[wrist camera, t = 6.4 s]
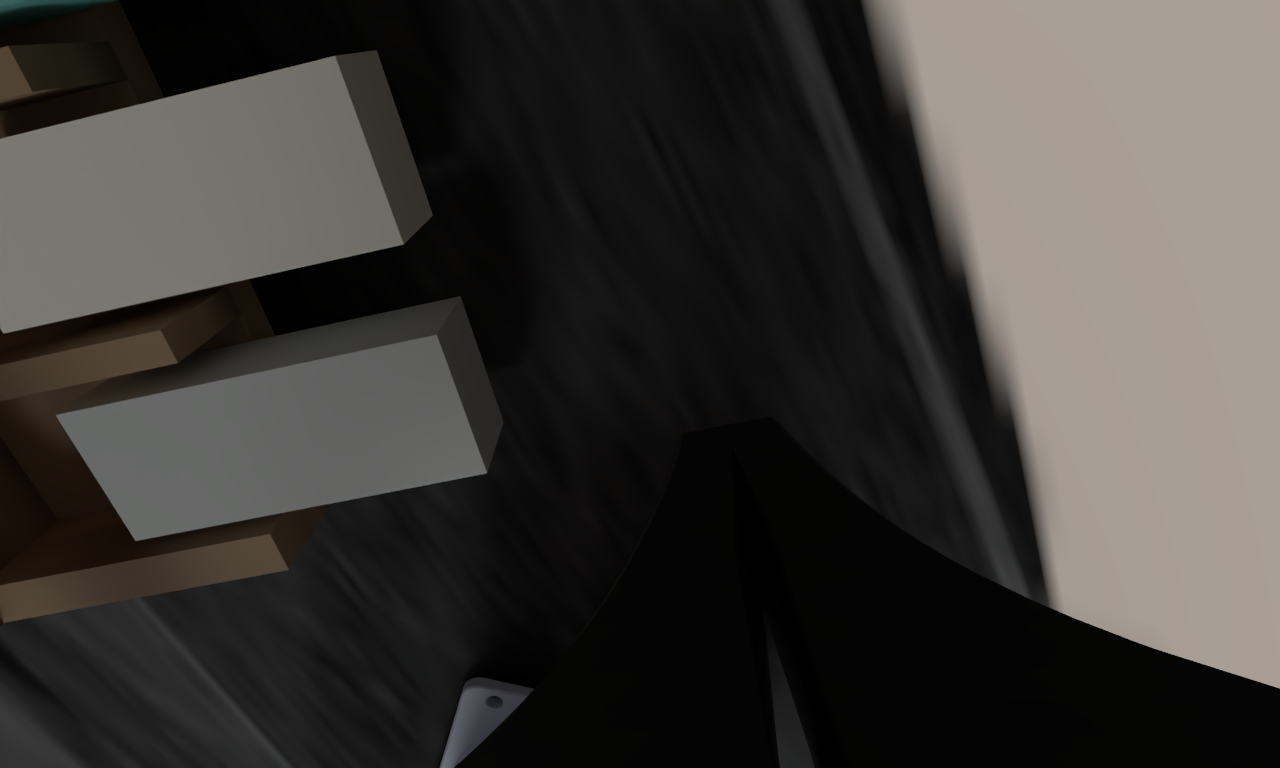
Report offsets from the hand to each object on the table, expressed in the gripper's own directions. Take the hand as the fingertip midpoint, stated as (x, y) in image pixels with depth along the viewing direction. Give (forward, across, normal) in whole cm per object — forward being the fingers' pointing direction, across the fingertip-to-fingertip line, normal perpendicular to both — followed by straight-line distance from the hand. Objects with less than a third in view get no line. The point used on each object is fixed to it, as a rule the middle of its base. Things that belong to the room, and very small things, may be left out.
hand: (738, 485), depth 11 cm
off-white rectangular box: (+7, +9, -5) cm, 12 cm away
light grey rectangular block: (+7, +9, 0) cm, 11 cm away
